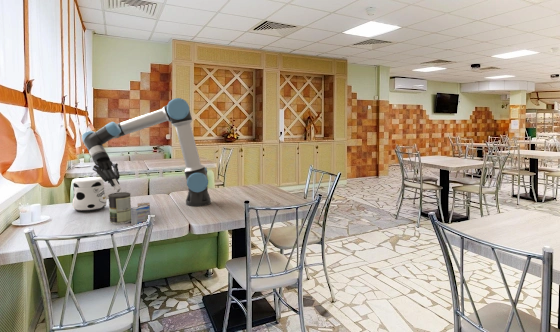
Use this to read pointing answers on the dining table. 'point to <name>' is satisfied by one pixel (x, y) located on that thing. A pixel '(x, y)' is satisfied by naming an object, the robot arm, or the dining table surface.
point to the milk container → (89, 194)
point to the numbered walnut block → (143, 204)
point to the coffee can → (120, 207)
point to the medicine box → (139, 214)
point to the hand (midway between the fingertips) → (118, 190)
